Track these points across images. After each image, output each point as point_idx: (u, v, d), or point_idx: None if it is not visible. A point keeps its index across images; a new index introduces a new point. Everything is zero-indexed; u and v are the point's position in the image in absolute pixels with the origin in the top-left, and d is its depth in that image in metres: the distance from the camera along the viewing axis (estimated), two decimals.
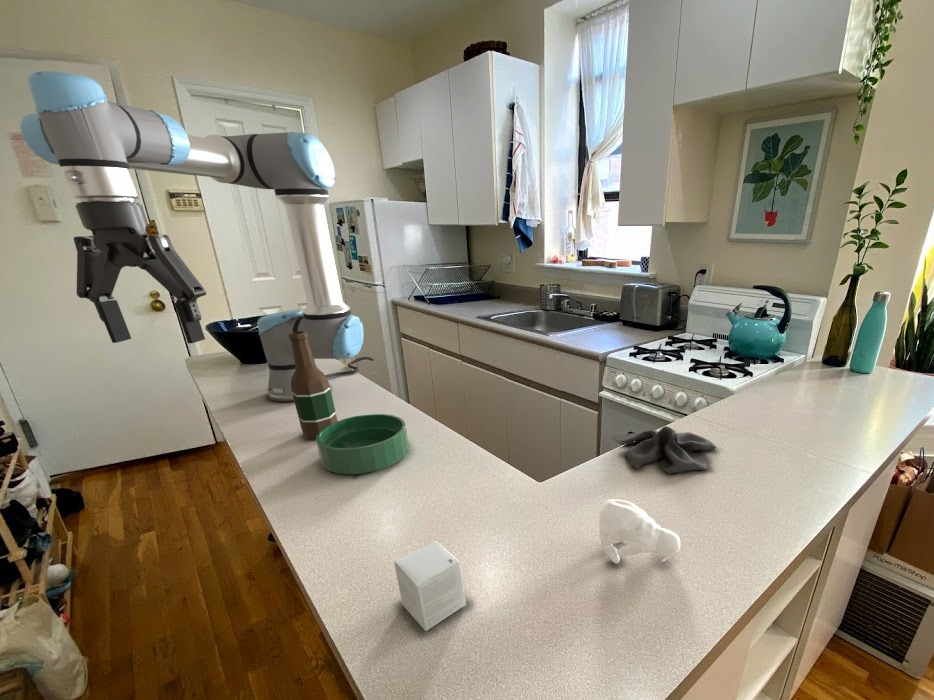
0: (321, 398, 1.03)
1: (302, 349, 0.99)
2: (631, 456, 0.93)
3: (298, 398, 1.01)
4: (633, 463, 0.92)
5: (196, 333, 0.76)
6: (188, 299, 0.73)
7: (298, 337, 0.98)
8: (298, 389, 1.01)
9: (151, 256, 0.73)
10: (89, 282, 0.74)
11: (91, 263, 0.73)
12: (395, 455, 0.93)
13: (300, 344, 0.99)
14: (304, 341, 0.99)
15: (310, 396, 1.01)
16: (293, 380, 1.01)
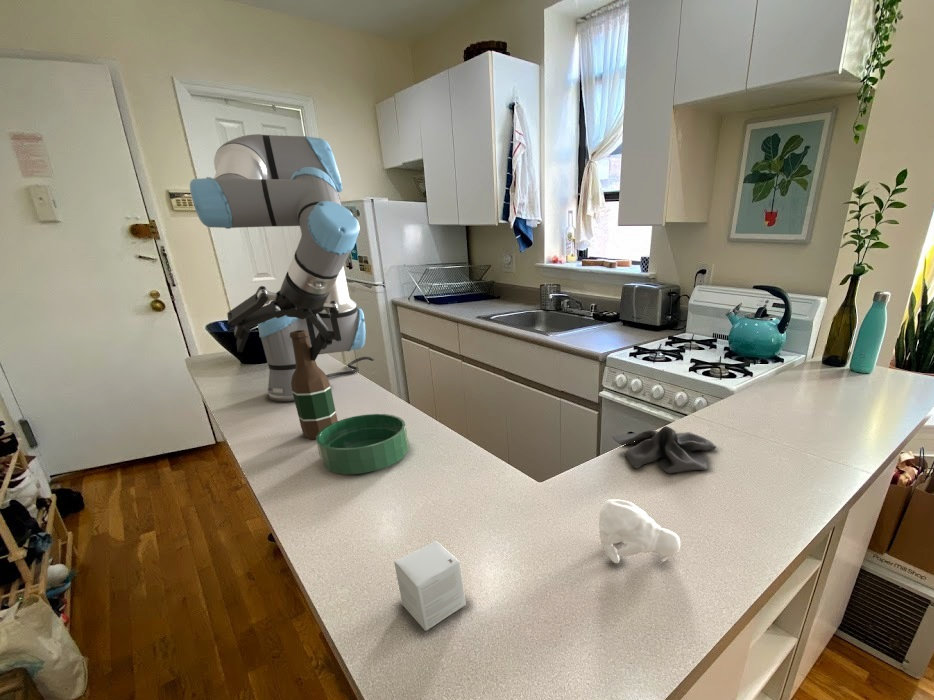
0: (321, 397, 1.03)
1: (302, 347, 1.00)
2: (631, 456, 0.93)
3: (298, 396, 1.02)
4: (633, 463, 0.92)
5: None
6: None
7: (299, 335, 0.99)
8: (298, 387, 1.01)
9: None
10: None
11: None
12: (395, 455, 0.93)
13: (301, 342, 1.00)
14: (305, 340, 1.00)
15: (310, 394, 1.01)
16: (293, 378, 1.02)
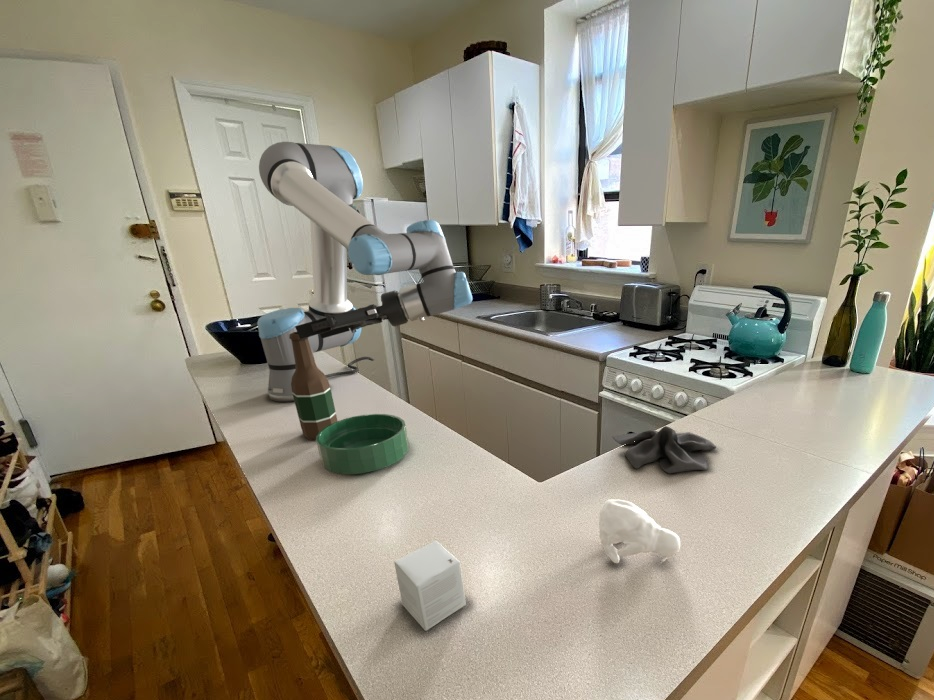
0: (321, 398, 1.03)
1: (302, 349, 0.99)
2: (631, 456, 0.93)
3: (298, 398, 1.01)
4: (633, 463, 0.92)
5: None
6: None
7: (298, 337, 0.98)
8: (298, 389, 1.01)
9: None
10: None
11: None
12: (395, 455, 0.93)
13: (300, 344, 0.99)
14: (304, 341, 0.99)
15: (310, 396, 1.01)
16: (293, 380, 1.01)
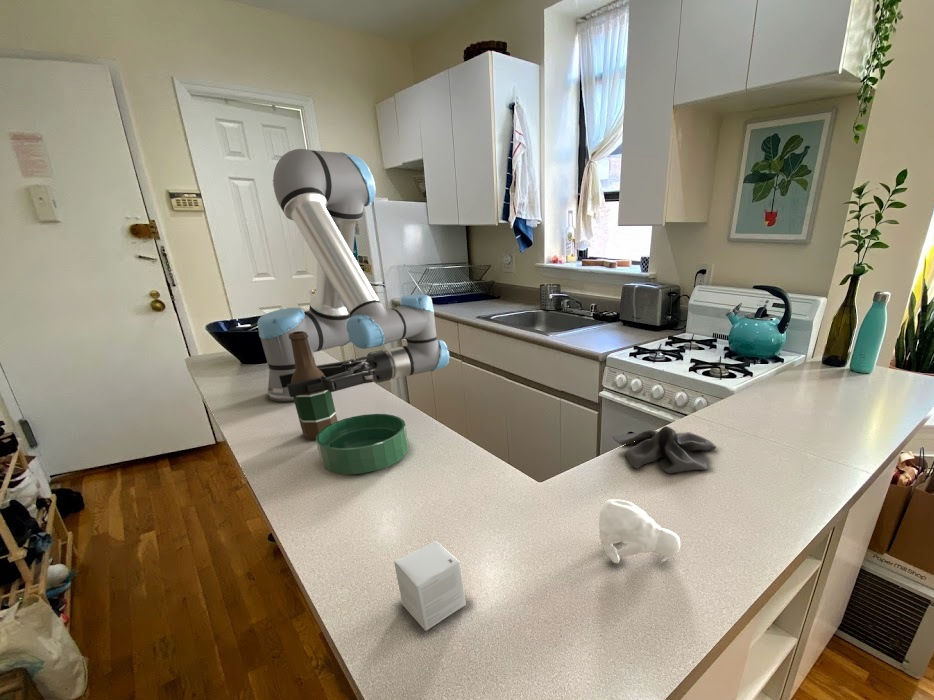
0: (321, 398, 1.03)
1: (301, 349, 0.99)
2: (631, 456, 0.93)
3: (298, 398, 1.01)
4: (633, 463, 0.92)
5: None
6: None
7: (298, 337, 0.98)
8: None
9: None
10: None
11: None
12: (395, 455, 0.93)
13: (300, 344, 0.99)
14: (304, 341, 0.99)
15: (310, 396, 1.01)
16: (293, 380, 1.01)
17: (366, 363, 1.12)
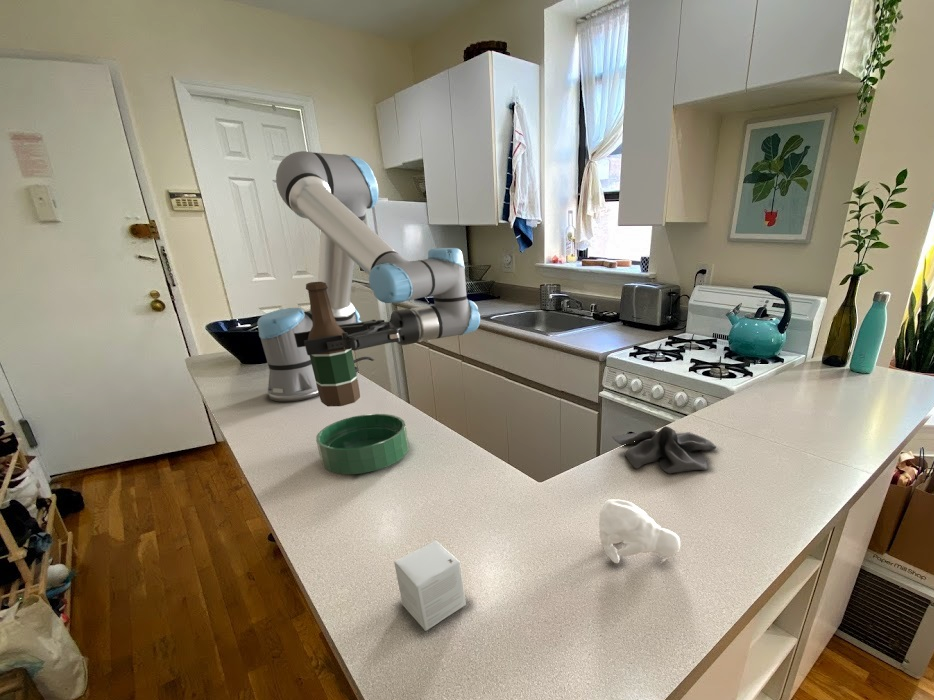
0: (341, 359, 0.91)
1: (320, 301, 0.88)
2: (631, 456, 0.93)
3: (316, 358, 0.90)
4: (633, 463, 0.92)
5: None
6: None
7: (316, 287, 0.86)
8: None
9: None
10: None
11: None
12: (395, 455, 0.93)
13: (318, 295, 0.87)
14: (323, 292, 0.88)
15: (329, 355, 0.89)
16: (310, 337, 0.90)
17: (390, 323, 1.00)
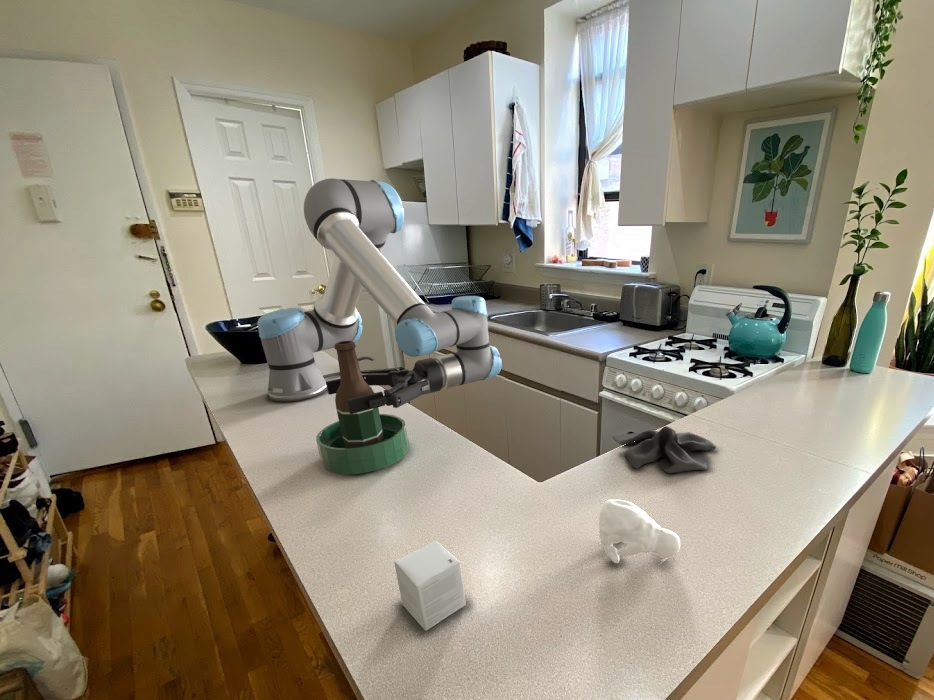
0: (368, 415, 0.92)
1: (349, 360, 0.88)
2: (631, 456, 0.93)
3: (343, 415, 0.90)
4: (633, 463, 0.92)
5: None
6: None
7: (345, 347, 0.87)
8: (343, 405, 0.90)
9: None
10: None
11: None
12: (395, 455, 0.93)
13: (347, 355, 0.88)
14: (351, 352, 0.88)
15: (357, 413, 0.90)
16: (338, 395, 0.90)
17: (414, 372, 1.01)
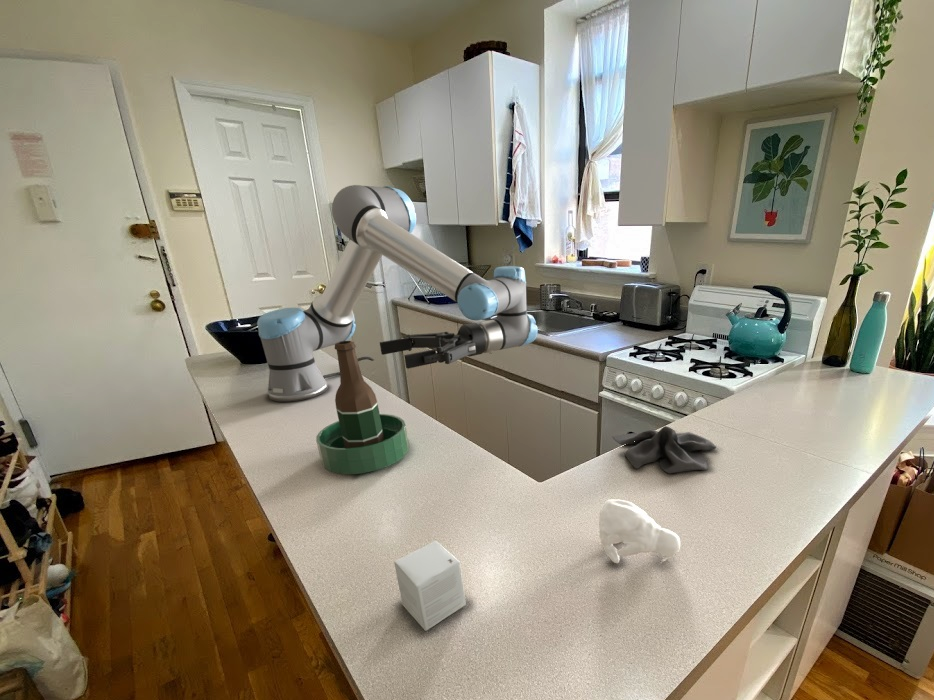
0: (368, 415, 0.92)
1: (349, 360, 0.88)
2: (631, 456, 0.93)
3: (343, 415, 0.90)
4: (633, 463, 0.92)
5: None
6: None
7: (345, 347, 0.87)
8: (343, 405, 0.90)
9: None
10: None
11: None
12: (395, 455, 0.93)
13: (347, 355, 0.88)
14: (351, 352, 0.88)
15: (357, 413, 0.90)
16: (338, 395, 0.90)
17: None
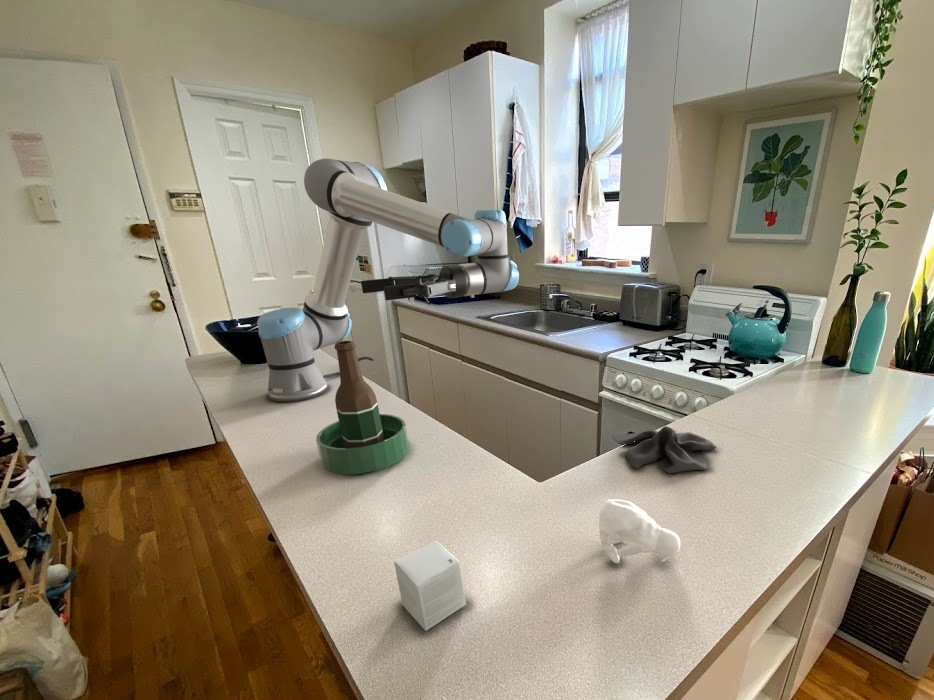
0: (368, 415, 0.92)
1: (349, 360, 0.88)
2: (631, 456, 0.93)
3: (343, 415, 0.90)
4: (633, 463, 0.92)
5: None
6: None
7: (345, 347, 0.87)
8: (343, 405, 0.90)
9: (424, 277, 1.09)
10: None
11: None
12: (395, 455, 0.93)
13: (347, 355, 0.88)
14: (351, 352, 0.88)
15: (357, 413, 0.90)
16: (338, 395, 0.90)
17: (440, 277, 1.10)
